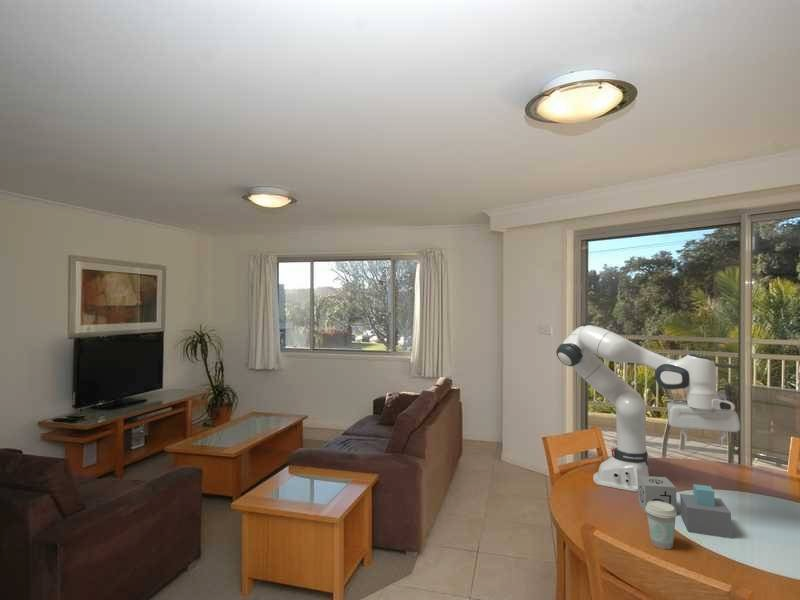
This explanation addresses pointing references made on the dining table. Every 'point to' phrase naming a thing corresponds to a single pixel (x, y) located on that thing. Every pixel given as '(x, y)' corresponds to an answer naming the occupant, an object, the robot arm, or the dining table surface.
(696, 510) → the grey block
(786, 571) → the dining table surface
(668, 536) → the coffee cup
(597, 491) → the dining table surface
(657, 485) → the icon cube
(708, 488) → the teal block
